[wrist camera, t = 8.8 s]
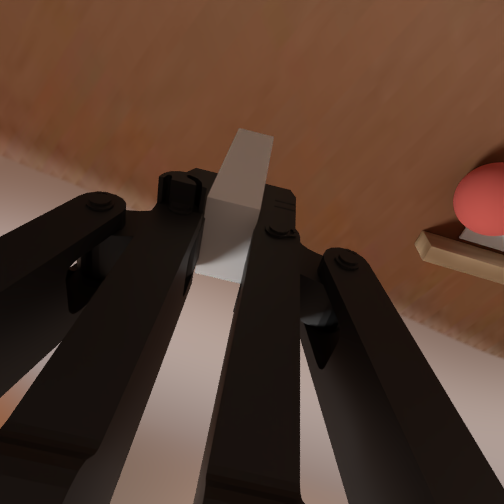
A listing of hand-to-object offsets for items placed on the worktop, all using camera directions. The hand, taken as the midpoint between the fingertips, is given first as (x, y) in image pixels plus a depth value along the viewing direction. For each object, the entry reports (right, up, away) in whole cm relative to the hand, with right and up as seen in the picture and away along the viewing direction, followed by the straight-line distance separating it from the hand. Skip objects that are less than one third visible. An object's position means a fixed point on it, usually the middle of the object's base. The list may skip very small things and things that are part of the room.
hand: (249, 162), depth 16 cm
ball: (+20, 0, +14) cm, 25 cm away
